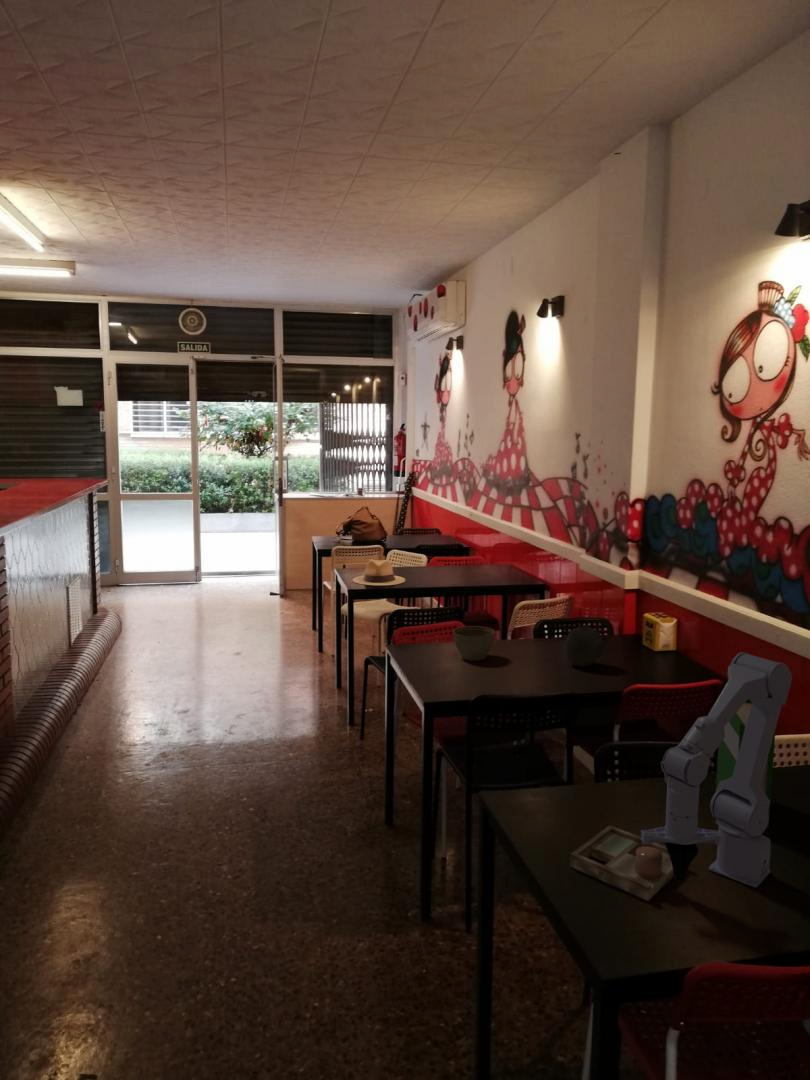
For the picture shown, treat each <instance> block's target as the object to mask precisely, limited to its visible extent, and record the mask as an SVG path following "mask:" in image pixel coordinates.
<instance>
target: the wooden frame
mask: <svg viewBox="0 0 810 1080" xmlns="http://www.w3.org/2000/svg"><path fill="white" fill-rule="evenodd" d="M644 846H646V847H653V848H655V849H658V850H659V851H660V852H661V853H662V855H663V856H662V875H661V877H660V878H658V879H646V878H643V877H641V876H639V875H638V874H637V873H636V872H635V862H636V850H637V848H639V847H644ZM591 857H593V858H595V859H597V860H600V861H601V862H602V861H603V862H604V863H606V864H602V863H599V862H598V861H595V860H593V859H591ZM569 858H570V859H569V861H570V862H569V867H570V868H572V869H575V870H577V871H579V872H581V873H584V874H586V875H588V876H591V877H592V878H595V879H597V880H600V881H602V882H604V883H606V884H609V885H611V886H613V887H616V888H618V889H620V890H622V891H625V892H627V893H629V894H631V895H634V896H635V897H638V898H640V899H642V900H644V901H648V902H649V901H650V900H651V899H652V898H653V897H654V896H655V895H656V894H658V893H659V891H661V889H663V888H664V887H665V886H666V884H668V883H669V882H670V881H671V880H673V878H675V877H674V875H673V867H672V863H671V859H670V856H669V853H668V850H667V848H666V845H662V844H661V843H649V845H644V844H643V842H642V840H641V836H639V835H637V834H635V833H634V834H633V833H631V832H629V831H626V830H623V829H622V828H618V827H616V826H614V825H608V826H607V827H605V828H604V829H603V830H601V831H600V832H598V833H596V835H594V836H593V837H592V838H590V839H589V840H587V841H586V842H585V843H583V844H581V846H579V847H578V848H577V849H575V850H574V851H572V852H571V853H570V857H569Z"/></svg>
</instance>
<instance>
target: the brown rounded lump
mask: <svg viewBox="0 0 810 1080" xmlns="http://www.w3.org/2000/svg"><path fill="white" fill-rule="evenodd" d="M635 856H636V862H635V872H636V873H637V874H638V875H639V876H641V877H643V878H646V879H658V878H660V877H661V875H662V856H663V855H662V853H661V852H660V851H659V850H658V849H655V848H653V847H646V846H644V847H639V848H637V850H636V854H635Z"/></svg>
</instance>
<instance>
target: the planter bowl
mask: <svg viewBox="0 0 810 1080" xmlns="http://www.w3.org/2000/svg"><path fill="white" fill-rule="evenodd" d="M452 634H453V639H454V644H455V647H456V649H457V651H458V652H459V654H460V655H461V658H462V659H463V660H465V661H471V662H472V661H473V662H477V661H478V662H480V661H483V660H485V659H487V655H488V654H489V652H490V651H491V650H492V647H493V645H494V639H495V634H496V632H495V630H494V629H492V628H490V627H486V626H480V625H479V626H478V625H467V626H460V627H456V628H455V629H453V631H452Z"/></svg>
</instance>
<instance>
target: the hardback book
mask: <svg viewBox="0 0 810 1080" xmlns="http://www.w3.org/2000/svg"><path fill="white" fill-rule="evenodd" d="M751 705H752V702H751V700H750V698H749V699H748V700H747V701H746V702H745V703H744V704H743V705H742V707H741V708H740V709H739V710H738V711H737V712H736V714H735V715H734V716H733V717H732V718H731V719H730V720H729V722H728V723H727V724H726V725H725V726H724V731H725V738H724V739H723V740H722V742H721V743H720V745H719V746H718V747H717V762H716V763H717V764H716V780H715V792H716V791H717V789H718V786H719V783H720V782H721V781H724V780H727V779H730V778H732V776H733V772H734V768H735V765H736V761H737V757H738V754H739V750H740V746H741V742H742V739H743V735H744V731H745V728H746V724H747V720H748V717H749V713H750V709H751ZM775 740H776V731H775V732H774V736H773V739H772V743H771V747H770V750H769V754H768V758H767V762H766V765H765V769H764V773H763V776H762V780H761V784H760V787H761V789H762V790H763V792H764V793H765V795H766V796H767V797H768V799H769V800H770V805H769V812H768V815H769V821H768V825H767V827H766V829H765V830H767V829H770V819H771V818H770V817H771V815H770V814H771V802H772V800H771V799H772V789H773V788H772V787H773V786H772V785H773V772H774V771H773V770H774V757H775V756H774V755H775ZM735 794H736V793H735ZM737 795H738V794H737ZM739 796H740V795H739ZM741 797H742V796H741Z"/></svg>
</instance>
